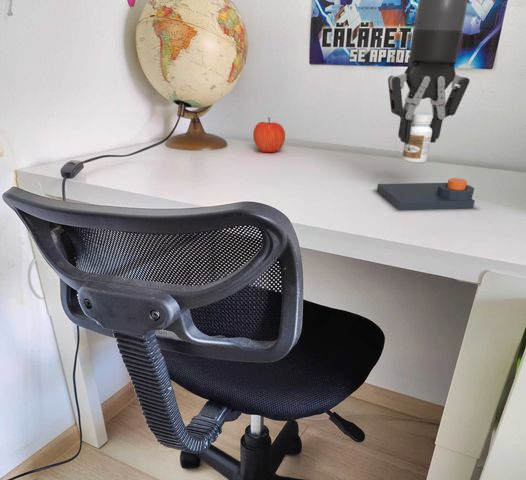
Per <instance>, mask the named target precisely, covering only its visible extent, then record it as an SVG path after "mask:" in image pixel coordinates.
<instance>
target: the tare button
mask: <svg viewBox="0 0 526 480" xmlns="http://www.w3.org/2000/svg"><path fill="white" fill-rule="evenodd" d="M447 183H448V184H447V188H449V189H454V190H465V189H466V185H468V180H467V179H464V178H459V177H451V178H448V180H447Z"/></svg>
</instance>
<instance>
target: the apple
mask: <svg viewBox="0 0 526 480" xmlns="http://www.w3.org/2000/svg"><path fill="white" fill-rule="evenodd" d="M267 119H268V122H267V121H260V122H258V123H256V124H255V126H254V129H253V133H252V134H253V137H252V138H253V141H254V144H255V146H256V148H257V149H258V150H259V151H260V152H262V153H275V152H279V151H280V150H281V149H282V147H284V146H283V145H284V143H285V140H286V132H285V128H284V126H282V125H281V124H280V123H278V122H271V118H270V117H267Z"/></svg>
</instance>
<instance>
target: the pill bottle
mask: <svg viewBox="0 0 526 480" xmlns="http://www.w3.org/2000/svg"><path fill="white" fill-rule="evenodd" d="M432 118H433V113H429V112H414V113H413V116H412V118H411V120H412V125H411V131H410V137H409V141H408V143H404V145H403V150H402V156H401V157H402V160H403V161H404V162H407V163H413V164H423V163H425V162H427V161H428V157H429V152H430V146H431V143H432V142H431V136H432V129H431V128H430V127H429V126H430V124H431V122H432Z"/></svg>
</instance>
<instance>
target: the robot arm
mask: <svg viewBox="0 0 526 480" xmlns="http://www.w3.org/2000/svg"><path fill="white" fill-rule="evenodd" d="M467 8H468V0H419V1H418V5H417V8H416V13H415V18H414V21H413V32H412V39H411V43H410V50H409V58H408V65H407V68H406V69H405V71H404V73H401V74H398V75H390V76H389V77H388V78H387V84H388V93H389V105H390V111H391V113H392V114H393V115H396V116H398V117H399V118H400V121H399V127H398V132H397V133H398V136H397V137H398V138H399V139H400V142H402V143H404V144H405V143H408V141H409V137H410V131H411V126H412V120H411V118H412V116H413V113H415V111H416V109H417V107H418V106H419V105H420V103H421V101H422V100H424V99H429V102H430V105H431V111H432V113H431V114H432V115H433V116H432V122H431V124H430V125H429V127H430V128H431V129H432V136H431V142H430V143H436V142H437V140H438V139H439V138H440V135H441V131H442V126H443V121H444V119H445V118H447V117H450V116H451V117H452V116H454V115H455V114H456V112H457V110H458V108H459V106H460V104H461V102H462V100H463V98H464V96H465V93H466V91H467V88H468V86H469V85H470V78H468V77H466V76H460V75H457V74H456V70H455V65H456V62H457V59H458V54H459V49H460V44H461V40H462V35H463V29H464V24H465V19H466V15H467ZM405 83H406V85H407V87H408V92H407V94H406V97H405V99H404V103H403V95H402V90H403V88H404V86H405ZM450 85H451V87H450V88H451V91H450V93H449V95H448V98H447V99H446V89H447V88H448V87H449V86H450Z"/></svg>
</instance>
